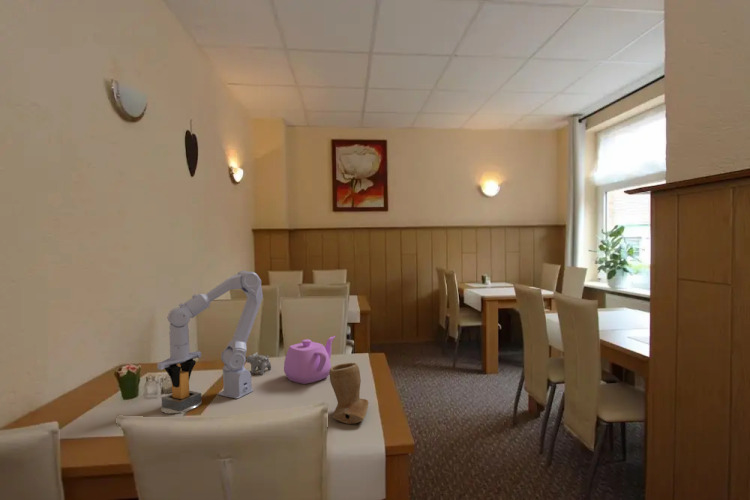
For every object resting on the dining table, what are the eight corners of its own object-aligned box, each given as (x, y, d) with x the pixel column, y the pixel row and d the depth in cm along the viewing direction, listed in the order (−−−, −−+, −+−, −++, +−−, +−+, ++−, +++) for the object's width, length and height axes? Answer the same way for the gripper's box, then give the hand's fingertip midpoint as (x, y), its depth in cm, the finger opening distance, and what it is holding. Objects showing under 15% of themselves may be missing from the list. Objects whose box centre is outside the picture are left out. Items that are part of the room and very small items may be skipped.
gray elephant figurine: (268, 376, 151) (268, 357, 151) (237, 376, 150) (238, 357, 150) (272, 368, 160) (272, 351, 160) (243, 368, 159) (244, 351, 159)
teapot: (307, 392, 132) (306, 350, 131) (277, 378, 147) (276, 340, 147) (355, 375, 147) (354, 337, 147) (324, 364, 163) (323, 330, 162)
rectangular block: (180, 393, 126) (179, 370, 126) (189, 395, 124) (188, 371, 124) (172, 397, 123) (171, 373, 123) (181, 399, 121) (180, 374, 121)
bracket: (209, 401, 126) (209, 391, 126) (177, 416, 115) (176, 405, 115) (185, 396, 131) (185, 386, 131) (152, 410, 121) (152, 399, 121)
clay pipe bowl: (335, 403, 122) (334, 357, 122) (371, 404, 120) (369, 358, 120) (323, 425, 107) (321, 373, 107) (363, 426, 105) (362, 374, 105)
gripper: (190, 337, 131) (192, 375, 132) (150, 348, 118) (152, 390, 118) (204, 339, 128) (205, 378, 128) (164, 350, 115) (166, 394, 115)
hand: (181, 384), depth 123 cm, fingers closed on rectangular block, 3 cm apart
